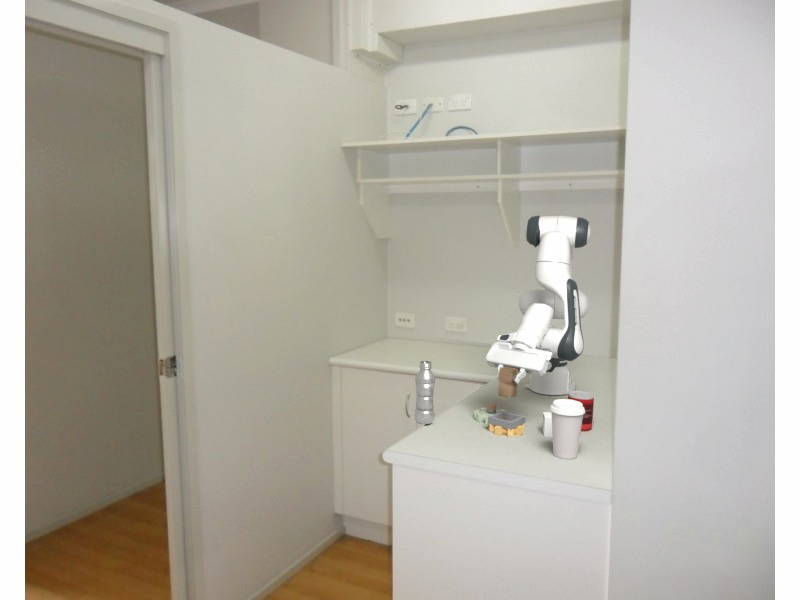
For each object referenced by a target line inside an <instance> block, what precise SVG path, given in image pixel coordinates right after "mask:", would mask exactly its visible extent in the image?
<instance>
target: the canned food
mask: <svg viewBox="0 0 800 600" xmlns="http://www.w3.org/2000/svg"><path fill="white" fill-rule="evenodd" d="M567 399H570V400H575V401H579V402H581V403H582V404H583V407H584V409H585V414H583V419H582V426H581V432H589V431H591V430H592V428H593V422H594V421H593V420H594V419H593V418H594V403H595V395H594V394H593V393H592V392H589V391H584V390H583V391H582V390H575V391H571V392H569V393H568V394H567Z"/></svg>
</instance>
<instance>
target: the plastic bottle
mask: <svg viewBox="0 0 800 600" xmlns="http://www.w3.org/2000/svg"><path fill="white" fill-rule="evenodd" d="M419 362H420V363H419V371H418V372H417V374H416V375H415V387H416V404H415V410H414V420H415V422H416V423H417V424H420V425H430V424H432V423H434V421H435V417H436V415H435V409H434V393H435V392H434V391H435V386H436V385H435V384H436V377H435V374H434V372H433V370H431V369H432V368H433V367H432V361H429V360H422V361H419Z"/></svg>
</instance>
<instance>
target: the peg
mask: <svg viewBox="0 0 800 600" xmlns="http://www.w3.org/2000/svg"><path fill="white" fill-rule="evenodd" d="M498 373H499V380H498V395H497V396H498V397H503V398H506V399H507V398H508V399H511V398H515V397H517V389H518V384H517V383H513V381H512V379H513V377H514V376H517V375H518V374H519V372H518V369H516V368H511V367H504V368H501V369H500V370H499V372H498Z"/></svg>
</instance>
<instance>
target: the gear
mask: <svg viewBox="0 0 800 600" xmlns="http://www.w3.org/2000/svg"><path fill="white" fill-rule="evenodd" d="M501 411H504V412H507V410H505V409H498V407H497V403H493V402H492V403H490V402H488V403H487V405H486V407H480V408H479V409H475V410H474V415H473V416H474V419H475V421H476V422H477V421H478V422H477V423H482V422H483V423H484V424H485V425H489V424H488V417H489V416H492V415H494V414H497V413H499V412H501Z"/></svg>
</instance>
